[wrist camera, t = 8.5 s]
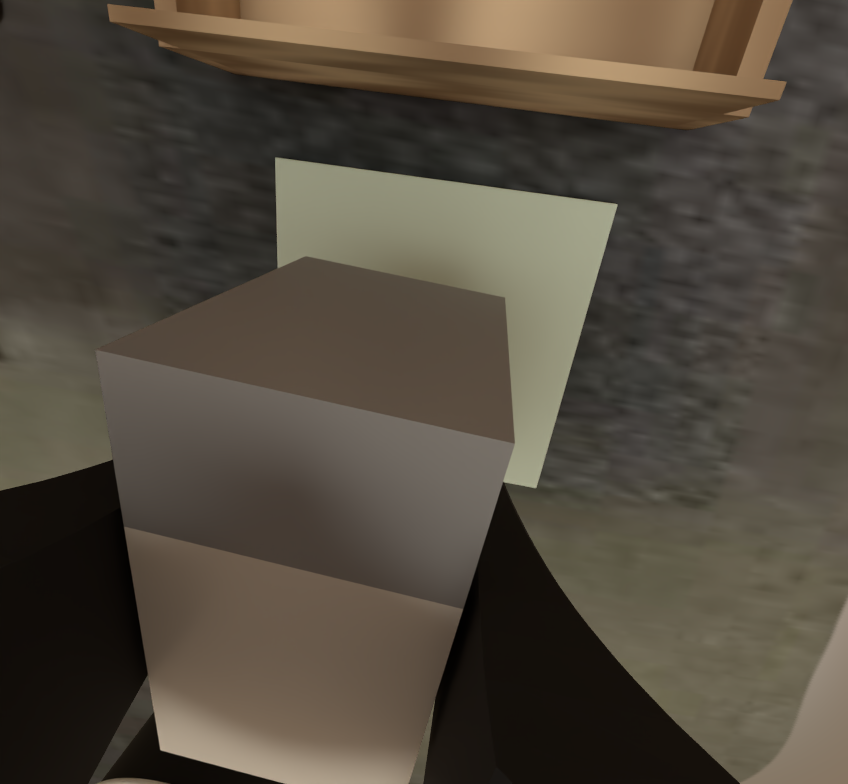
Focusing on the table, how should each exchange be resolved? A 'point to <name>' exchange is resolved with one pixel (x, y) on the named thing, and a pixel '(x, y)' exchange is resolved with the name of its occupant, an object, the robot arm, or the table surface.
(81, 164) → the table surface
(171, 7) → the wooden crate
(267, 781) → the dixie cup
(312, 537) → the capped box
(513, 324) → the panel
